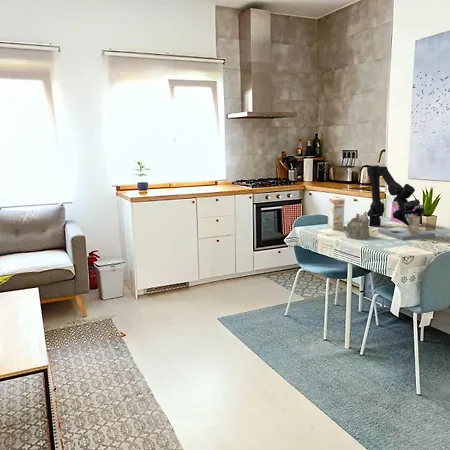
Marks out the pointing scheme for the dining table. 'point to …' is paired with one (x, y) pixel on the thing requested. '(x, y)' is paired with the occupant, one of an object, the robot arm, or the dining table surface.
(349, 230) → the grey rough lump
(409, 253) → the dining table surface
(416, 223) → the beech post
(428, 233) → the board
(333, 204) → the coffeecake box
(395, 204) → the gum box
